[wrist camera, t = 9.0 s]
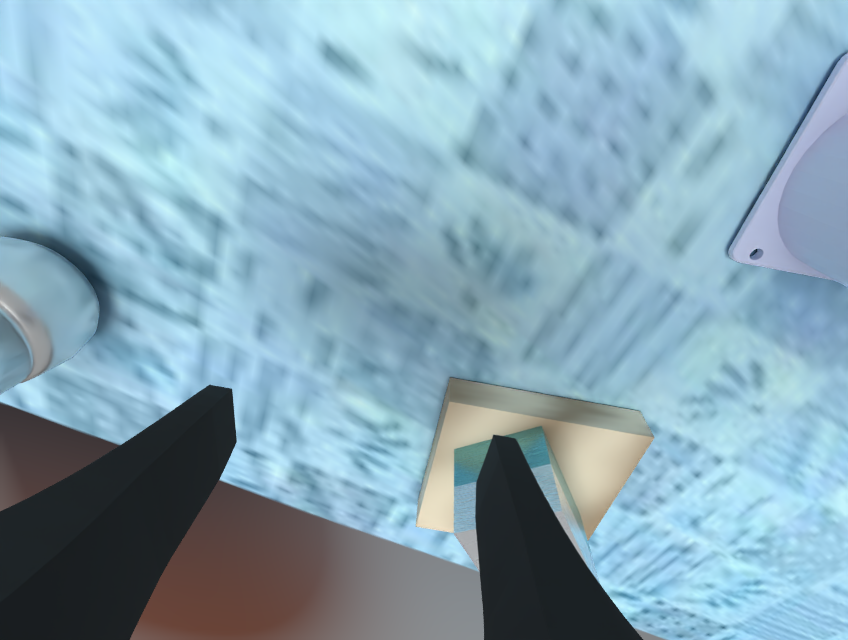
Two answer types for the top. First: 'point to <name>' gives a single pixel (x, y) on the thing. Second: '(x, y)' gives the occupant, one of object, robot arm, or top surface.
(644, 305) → the top surface
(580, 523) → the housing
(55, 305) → the plastic bottle
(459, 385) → the stand
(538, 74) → the top surface
